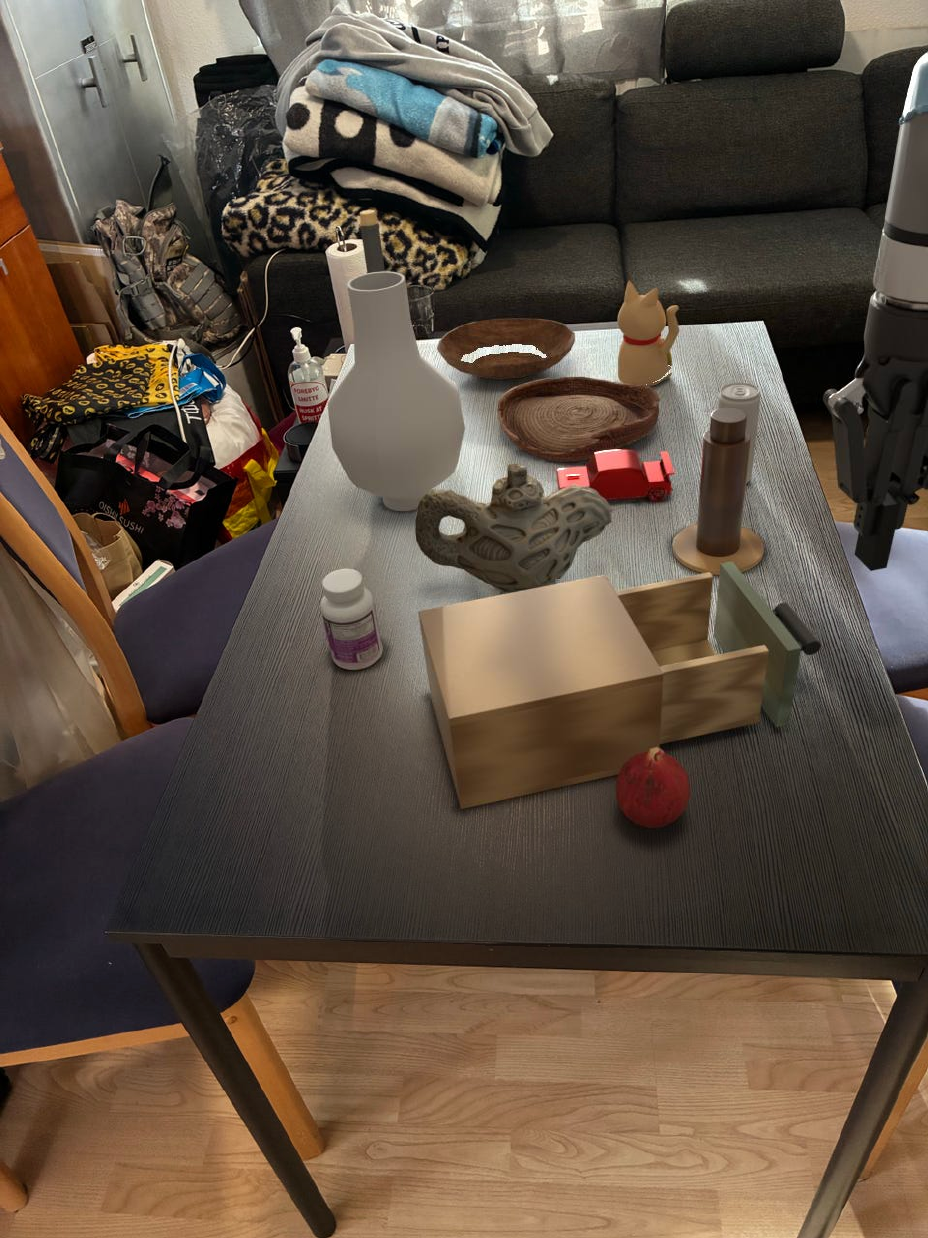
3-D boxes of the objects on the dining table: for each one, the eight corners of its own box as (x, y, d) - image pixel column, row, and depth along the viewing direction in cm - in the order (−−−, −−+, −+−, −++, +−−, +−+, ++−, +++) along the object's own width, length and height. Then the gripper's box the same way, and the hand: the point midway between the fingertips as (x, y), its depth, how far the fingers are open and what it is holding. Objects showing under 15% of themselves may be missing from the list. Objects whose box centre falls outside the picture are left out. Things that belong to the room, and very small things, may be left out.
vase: (473, 463, 128) (453, 252, 111) (469, 528, 115) (446, 300, 98) (352, 471, 129) (314, 263, 112) (335, 536, 116) (289, 312, 99)
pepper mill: (746, 552, 105) (761, 420, 95) (705, 560, 104) (716, 428, 94) (728, 530, 108) (740, 401, 99) (689, 538, 108) (697, 409, 98)
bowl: (455, 346, 162) (452, 317, 159) (583, 345, 157) (582, 316, 154) (427, 394, 147) (423, 364, 144) (567, 396, 142) (566, 364, 139)
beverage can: (711, 488, 117) (718, 398, 110) (712, 469, 121) (719, 381, 114) (751, 490, 116) (761, 399, 109) (751, 470, 120) (761, 382, 112)
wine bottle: (429, 412, 142) (404, 201, 124) (419, 436, 136) (390, 218, 117) (377, 412, 143) (345, 204, 125) (365, 437, 137) (329, 222, 119)
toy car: (666, 479, 120) (668, 444, 117) (674, 502, 115) (675, 466, 112) (556, 487, 121) (555, 453, 118) (559, 510, 116) (558, 474, 113)
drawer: (765, 625, 94) (775, 552, 88) (834, 715, 83) (850, 637, 78) (564, 667, 92) (562, 594, 86) (609, 764, 81) (609, 688, 76)
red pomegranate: (676, 857, 74) (681, 788, 69) (606, 836, 76) (606, 768, 71) (694, 803, 78) (701, 735, 73) (627, 785, 80) (629, 717, 75)
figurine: (691, 377, 143) (697, 278, 134) (648, 399, 139) (652, 297, 130) (648, 363, 149) (651, 267, 140) (605, 384, 144) (606, 285, 135)
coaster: (779, 565, 103) (780, 560, 103) (693, 582, 102) (693, 577, 102) (739, 519, 111) (740, 515, 111) (659, 535, 110) (659, 530, 110)
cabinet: (605, 661, 93) (605, 574, 87) (658, 765, 82) (663, 673, 75) (431, 697, 91) (418, 610, 85) (461, 809, 80) (448, 718, 73)
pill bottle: (336, 640, 100) (319, 565, 94) (385, 637, 99) (372, 562, 93) (328, 673, 95) (310, 597, 90) (380, 671, 95) (365, 594, 89)
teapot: (598, 540, 110) (597, 423, 101) (626, 597, 101) (629, 473, 92) (418, 570, 109) (401, 453, 100) (430, 630, 100) (413, 507, 90)
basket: (480, 459, 129) (477, 426, 126) (519, 396, 143) (518, 365, 140) (645, 471, 122) (646, 437, 119) (669, 404, 137) (670, 372, 134)
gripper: (871, 324, 64) (822, 599, 79) (1044, 295, 66) (964, 570, 80) (817, 290, 70) (780, 552, 85) (977, 264, 72) (914, 525, 86)
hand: (870, 560), depth 83 cm, fingers closed
